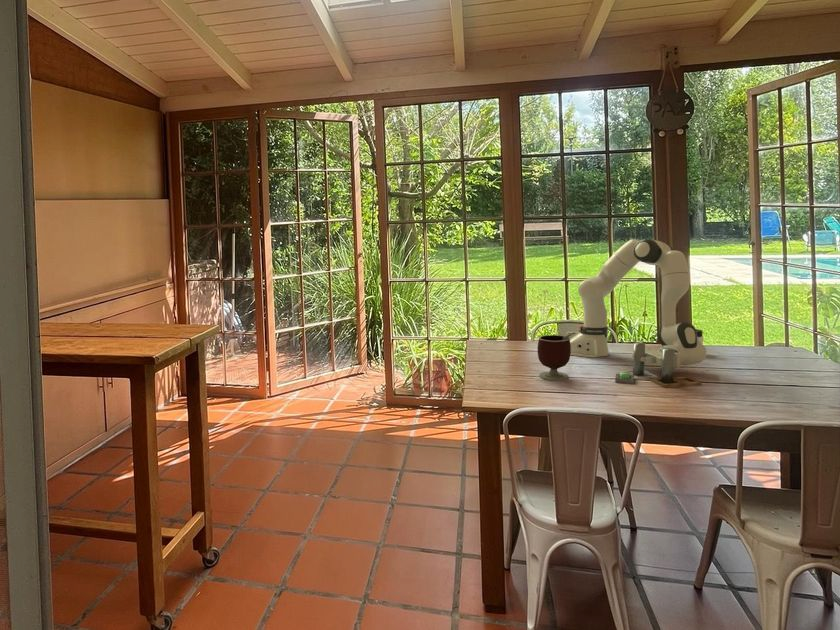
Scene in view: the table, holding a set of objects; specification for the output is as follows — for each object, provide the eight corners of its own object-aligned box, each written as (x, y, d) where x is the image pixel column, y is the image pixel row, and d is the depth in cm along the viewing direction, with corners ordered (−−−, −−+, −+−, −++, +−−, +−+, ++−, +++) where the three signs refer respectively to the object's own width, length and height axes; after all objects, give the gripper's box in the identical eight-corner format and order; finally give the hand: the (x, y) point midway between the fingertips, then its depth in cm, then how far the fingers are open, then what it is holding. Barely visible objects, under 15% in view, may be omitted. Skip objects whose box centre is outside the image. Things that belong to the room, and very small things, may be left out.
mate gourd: (534, 379, 227) (535, 333, 223) (539, 371, 239) (540, 327, 236) (572, 382, 221) (573, 335, 218) (575, 373, 234) (576, 329, 231)
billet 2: (661, 384, 211) (662, 350, 208) (660, 381, 215) (662, 347, 212) (673, 385, 209) (675, 350, 207) (672, 382, 213) (674, 348, 211)
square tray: (632, 381, 220) (632, 378, 220) (619, 374, 231) (619, 371, 231) (657, 379, 221) (657, 376, 221) (643, 372, 232) (643, 369, 232)
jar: (686, 351, 269) (688, 327, 267) (704, 353, 263) (705, 329, 261) (679, 354, 263) (681, 330, 261) (697, 357, 257) (698, 332, 255)
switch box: (615, 385, 216) (615, 378, 215) (615, 380, 222) (616, 373, 222) (633, 386, 213) (633, 379, 213) (634, 382, 219) (634, 374, 219)
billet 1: (632, 376, 225) (633, 344, 223) (632, 374, 229) (634, 342, 227) (643, 377, 223) (645, 344, 221) (643, 374, 227) (645, 342, 225)
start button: (619, 383, 216) (619, 374, 216) (619, 380, 220) (620, 371, 219) (629, 384, 215) (630, 375, 214) (630, 381, 219) (630, 372, 218)
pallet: (663, 390, 207) (663, 385, 207) (650, 384, 216) (650, 378, 216) (701, 387, 209) (701, 382, 209) (687, 381, 218) (687, 376, 218)
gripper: (654, 343, 236) (624, 345, 234) (682, 353, 216) (650, 355, 214) (653, 357, 237) (624, 358, 235) (681, 368, 217) (649, 370, 215)
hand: (637, 357), depth 225 cm, fingers closed on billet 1, 4 cm apart
